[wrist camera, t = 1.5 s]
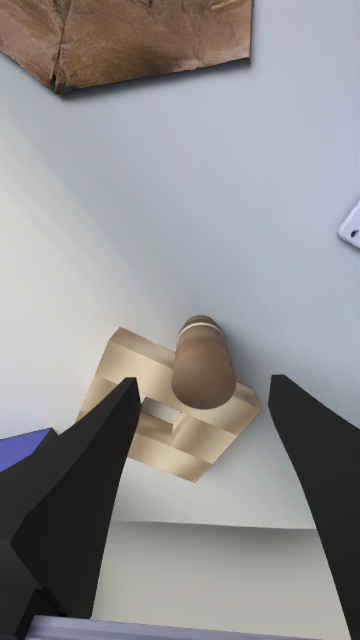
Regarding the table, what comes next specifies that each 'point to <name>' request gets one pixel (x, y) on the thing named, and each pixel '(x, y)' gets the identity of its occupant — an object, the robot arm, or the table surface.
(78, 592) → the robot arm
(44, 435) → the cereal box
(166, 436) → the board
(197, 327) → the peg
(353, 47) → the table surface
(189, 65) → the wooden fragment
